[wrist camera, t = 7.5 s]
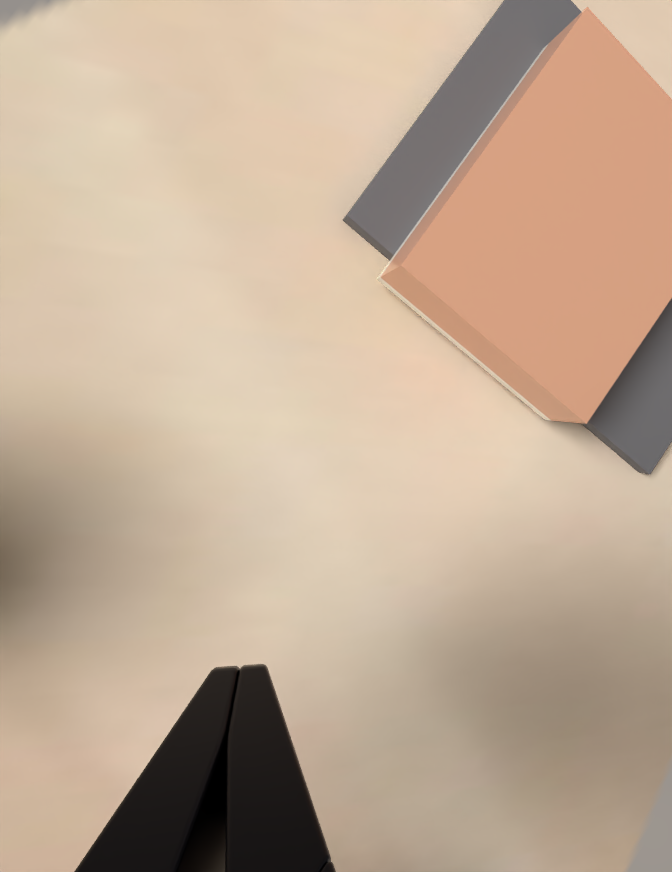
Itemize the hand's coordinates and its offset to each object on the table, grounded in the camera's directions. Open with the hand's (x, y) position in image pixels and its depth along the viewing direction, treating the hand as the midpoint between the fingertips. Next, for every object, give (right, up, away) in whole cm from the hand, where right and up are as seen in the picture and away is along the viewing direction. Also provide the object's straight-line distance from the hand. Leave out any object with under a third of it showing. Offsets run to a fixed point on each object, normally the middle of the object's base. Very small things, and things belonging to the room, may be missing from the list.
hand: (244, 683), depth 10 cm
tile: (+6, +7, +10) cm, 14 cm away
